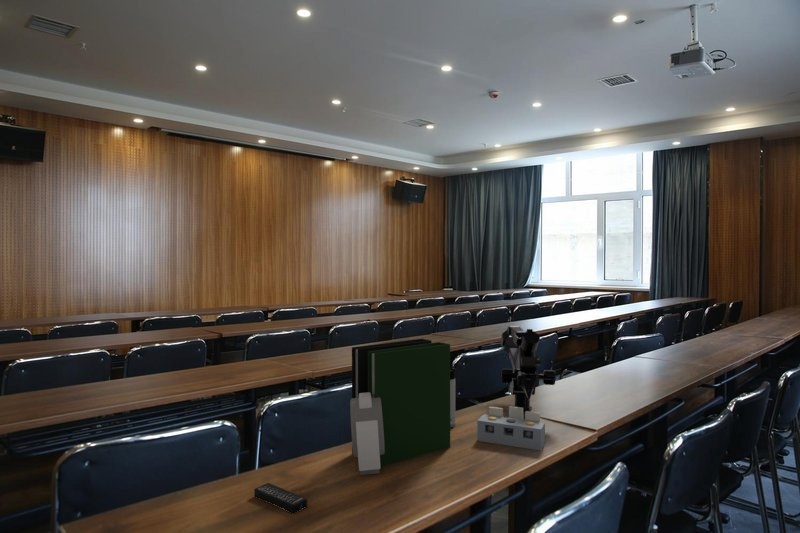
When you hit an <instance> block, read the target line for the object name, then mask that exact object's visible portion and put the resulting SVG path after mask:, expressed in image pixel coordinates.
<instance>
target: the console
mask: <svg viewBox="0 0 800 533" xmlns="http://www.w3.org/2000/svg"><path fill="white" fill-rule="evenodd" d="M476 422H477V423H476V424H477V425H476V426H477V427H476V428H477V429H476V430H477V431H476V432H477V433H476V435H477V436H476V439H477V442H483V443H491V444H496V445H502V446H509V447H516V448H522V449H529V450H536V451H542V449H543V448H544V446H545V445H546V422H545V421H543V422H542V421H540V422H537V421H530V420H525V419H523V420H522V419H515V418H509V417H506V416H503V417H500V416H492V415H489V414H482V415H481V416H480V417H479V418H478V419H477V420H476ZM489 425H491V426H494V429H493V430H492V431H489V430H488V429H487V427H488V426H489ZM509 428H512V429H513V431H510V430H509ZM526 431H533V433H532V435H531V436H530V437H527V436H526V434H525V433H526Z"/></svg>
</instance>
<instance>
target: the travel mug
mask: <svg viewBox="0 0 800 533" xmlns="http://www.w3.org/2000/svg"><path fill="white" fill-rule="evenodd" d="M456 372H457V368H456V367H455V368H453V367H452V368H451V367H450V429H452V428H454V427H455V426H456ZM451 427H452V428H451Z"/></svg>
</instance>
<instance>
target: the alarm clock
mask: <svg viewBox="0 0 800 533" xmlns="http://www.w3.org/2000/svg"><path fill="white" fill-rule="evenodd" d="M349 408H350V428H351V430H350V432H351V449H352V448H353V454H352V455H353V457H354V458H357V460H358V471H359V473H360V476H364V475H374V474H380V473H381V471H380V470H381V467H380V455H383V454H384V453H385V446H384V429H383V416H382V405H381V398H380V397H377V398H374V397H371V393H370V392H367V393H359V398H352V397H351V398H350V400H349Z"/></svg>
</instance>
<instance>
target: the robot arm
mask: <svg viewBox="0 0 800 533" xmlns="http://www.w3.org/2000/svg"><path fill="white" fill-rule="evenodd" d="M540 338H541V337H540V335H539V334H538V333H537V332H535V331H534V330H533V328H526V330H524V329H523V328H522V327H521V326H520V325H509V326H507V328H506V330H505V331H503V332H502V333H501V338H500V345H501V347H502V349H503V352H505V353H507V354H508V356H509V359H510V364H511V366H512V368H502V369H501V371H500V372H501V374H500V375H501V376H500V377H501V379H500V380H501V383H503V384H510V385H509V392H510V393H511V395H512V396H514V406H513V407H521V408H523V413H524V412H526V411H529V412H531V410H532V409H533V407H532V406H531V397H532V396H535V395H536V387H538V386H539V385H540V384H539V383H540V380H541V381H543V384H544V385H545V386H555V384H556V380H557V379H556V378H557V373H556V371H555V370H554V369H550V370H549V369H544V370H543V373H537V370H538V369H537V368H538V367H539V366H541V365H542V355H536V351H537V349H538V347H539V346H538V345H539V343H540ZM537 366H538V367H537Z"/></svg>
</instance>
